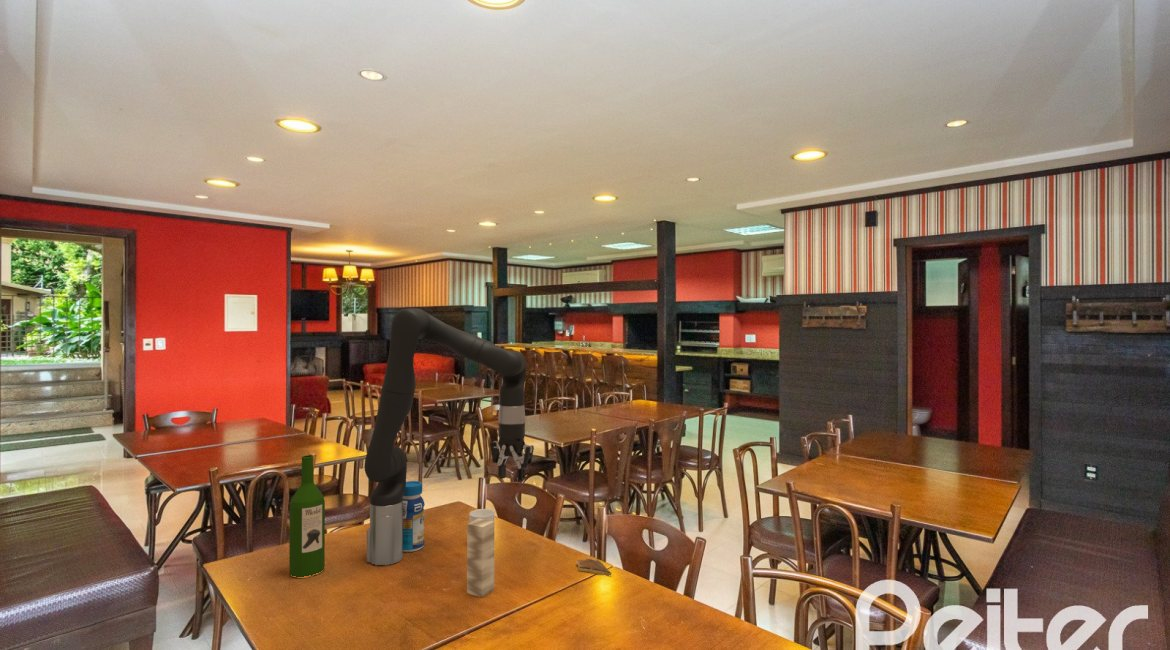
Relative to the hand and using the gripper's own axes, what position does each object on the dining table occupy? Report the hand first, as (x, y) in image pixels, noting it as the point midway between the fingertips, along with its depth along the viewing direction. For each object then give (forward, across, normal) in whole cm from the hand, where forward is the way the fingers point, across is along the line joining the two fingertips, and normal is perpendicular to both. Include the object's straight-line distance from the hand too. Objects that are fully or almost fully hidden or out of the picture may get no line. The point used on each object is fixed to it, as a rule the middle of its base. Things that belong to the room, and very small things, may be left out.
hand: (511, 479), depth 165 cm
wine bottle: (+26, -49, -29) cm, 63 cm away
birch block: (+25, +1, -16) cm, 30 cm away
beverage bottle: (+26, -36, -3) cm, 44 cm away
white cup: (+26, -18, +10) cm, 33 cm away
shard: (+26, +21, +12) cm, 36 cm away
